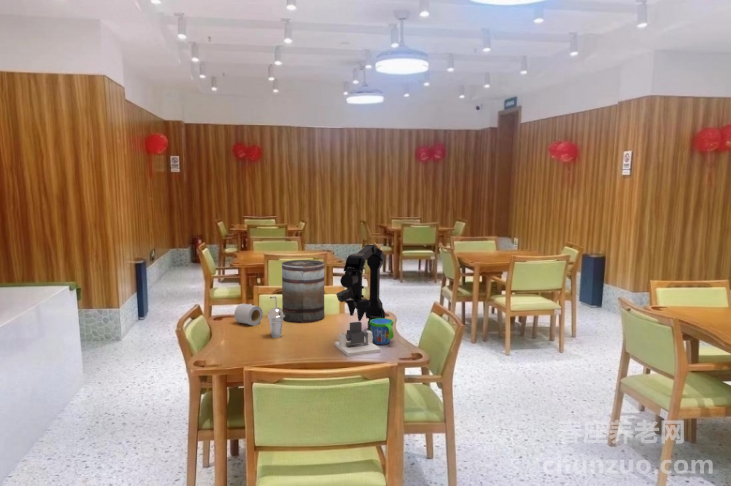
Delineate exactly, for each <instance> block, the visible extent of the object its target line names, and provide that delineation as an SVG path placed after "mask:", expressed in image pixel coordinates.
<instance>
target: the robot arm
mask: <svg viewBox="0 0 731 486" xmlns="http://www.w3.org/2000/svg"><path fill="white" fill-rule="evenodd" d="M384 261H385V253H384V252H383V250H381V249H380V248H378V247H377V245H375V244H365V245H364V247H363V248H361V249H360V250H359V251H358V252H357V253H351V254H349V255H348V256H347V257H346V260H345V264H344V267H343V272H344V274H343V275H342V276H341V277H340V284H341V286H342V288H345V289H343V290H341V291H339V292H337V293H336V297H337V300H338V301H339V302H340V303H344V302H345V303H346V305H347V308H348V312H349V315H350V316H351V317H352V316H354V313H355V310H356V313H357V322H362V319H363V317H364V314H365V318H366V319H368V321H367V328H366V329H367V331H371V330H370V327H371V325H370V320H372V319H376V318H386V312H385V310H384V307H383V306H384V305H383V302H382V301H381V299H380V290H381V289H380V287H381V286H380V283H381V281H380V280H381V277H380V276H381V274H380V273H381V269H382V266H383V265H384ZM366 264H367V266H368V268H369V273H370V274H369V299H368V298H365V295H363V289H364V288H365V286H364V285H363V272H364V268H365V265H366Z"/></svg>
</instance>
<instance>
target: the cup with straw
mask: <svg viewBox="0 0 731 486" xmlns="http://www.w3.org/2000/svg"><path fill="white" fill-rule="evenodd" d="M269 298H270V299H274V307H273V308H271V309H270V310H269V311H268V313H267V316H266V317H267V318H268V322H269V327H270V334H271V338H273V339H275V338H276V339H279V338H281V337H282V331H283V330H282V329H283V323H284V320H283V318H284V317H285V314H284V313H283V311H282V308H280V307H277V303H278V301H277V296H269Z"/></svg>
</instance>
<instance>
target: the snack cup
mask: <svg viewBox="0 0 731 486" xmlns="http://www.w3.org/2000/svg"><path fill="white" fill-rule="evenodd" d="M370 325H371V327H370V330H371V332H372V343H373V344H375V345H387V344H389V343H390V342H391V340H393V339H394V331H393V325H394V320H393V319H390V318H386V317H385V318H376V319H372V320H370Z"/></svg>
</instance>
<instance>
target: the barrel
mask: <svg viewBox="0 0 731 486" xmlns="http://www.w3.org/2000/svg"><path fill="white" fill-rule="evenodd" d="M281 291H282V292H281V294H282V295H281V296H282V298H281V299H282V300H281V304H282V305H281V306H282V307H281V310H282V311H283V313H284V314H285V317H284V318H283V322H284V321H285V322H287V323H292V324H312V323H317V322H321V321H323V320H324V319H325V262H324V261H320V260H315V259H314V260H311V259H298V260H297V259H296V260H287V261H283V262H281Z"/></svg>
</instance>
